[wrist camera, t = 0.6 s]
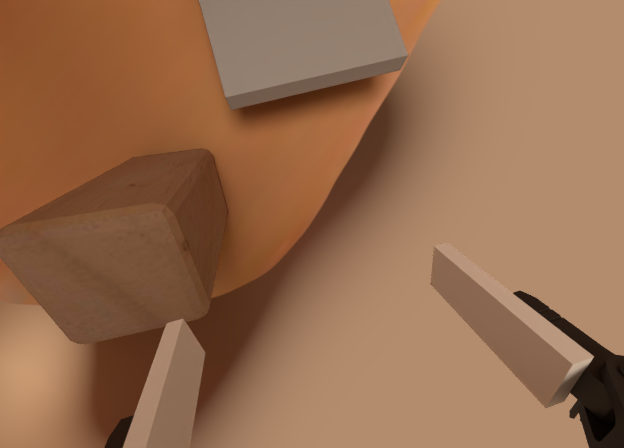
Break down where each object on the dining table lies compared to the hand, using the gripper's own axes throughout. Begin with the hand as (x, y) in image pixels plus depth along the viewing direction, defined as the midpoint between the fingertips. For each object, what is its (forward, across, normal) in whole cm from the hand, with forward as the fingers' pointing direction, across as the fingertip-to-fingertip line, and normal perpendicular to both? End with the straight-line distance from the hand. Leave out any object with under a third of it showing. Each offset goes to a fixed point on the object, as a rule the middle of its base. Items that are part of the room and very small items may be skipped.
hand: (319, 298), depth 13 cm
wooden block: (+26, -13, 0) cm, 29 cm away
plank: (+22, +6, +14) cm, 27 cm away
